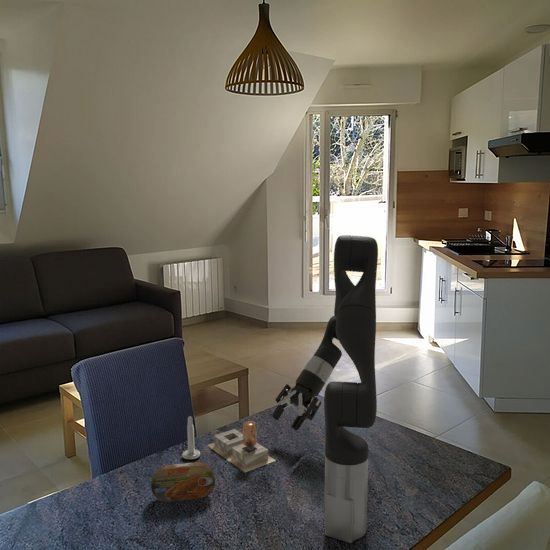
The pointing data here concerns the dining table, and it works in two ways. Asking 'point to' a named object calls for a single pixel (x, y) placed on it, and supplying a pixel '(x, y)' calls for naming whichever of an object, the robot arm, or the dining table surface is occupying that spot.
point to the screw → (190, 442)
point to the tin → (183, 482)
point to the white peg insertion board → (240, 451)
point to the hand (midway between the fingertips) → (283, 423)
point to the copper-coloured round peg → (249, 435)
